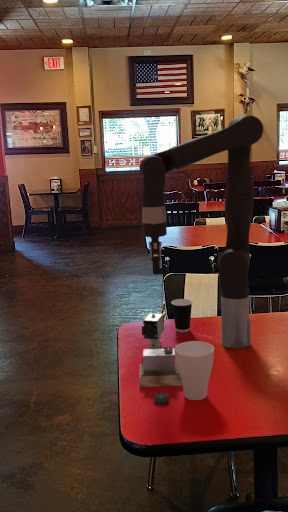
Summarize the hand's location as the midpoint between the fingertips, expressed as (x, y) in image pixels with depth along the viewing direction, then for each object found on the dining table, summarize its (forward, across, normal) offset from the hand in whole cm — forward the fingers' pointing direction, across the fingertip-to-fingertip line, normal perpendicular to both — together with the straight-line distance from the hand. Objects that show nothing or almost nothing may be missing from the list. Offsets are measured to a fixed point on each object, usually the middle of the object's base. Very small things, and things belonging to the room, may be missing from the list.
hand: (156, 271), depth 155 cm
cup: (+28, +30, +9) cm, 42 cm away
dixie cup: (+28, -22, +9) cm, 37 cm away
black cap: (+28, +32, 0) cm, 43 cm away
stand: (+28, +19, 0) cm, 34 cm away
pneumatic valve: (+28, -6, -2) cm, 29 cm away
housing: (+25, +19, 0) cm, 31 cm away
